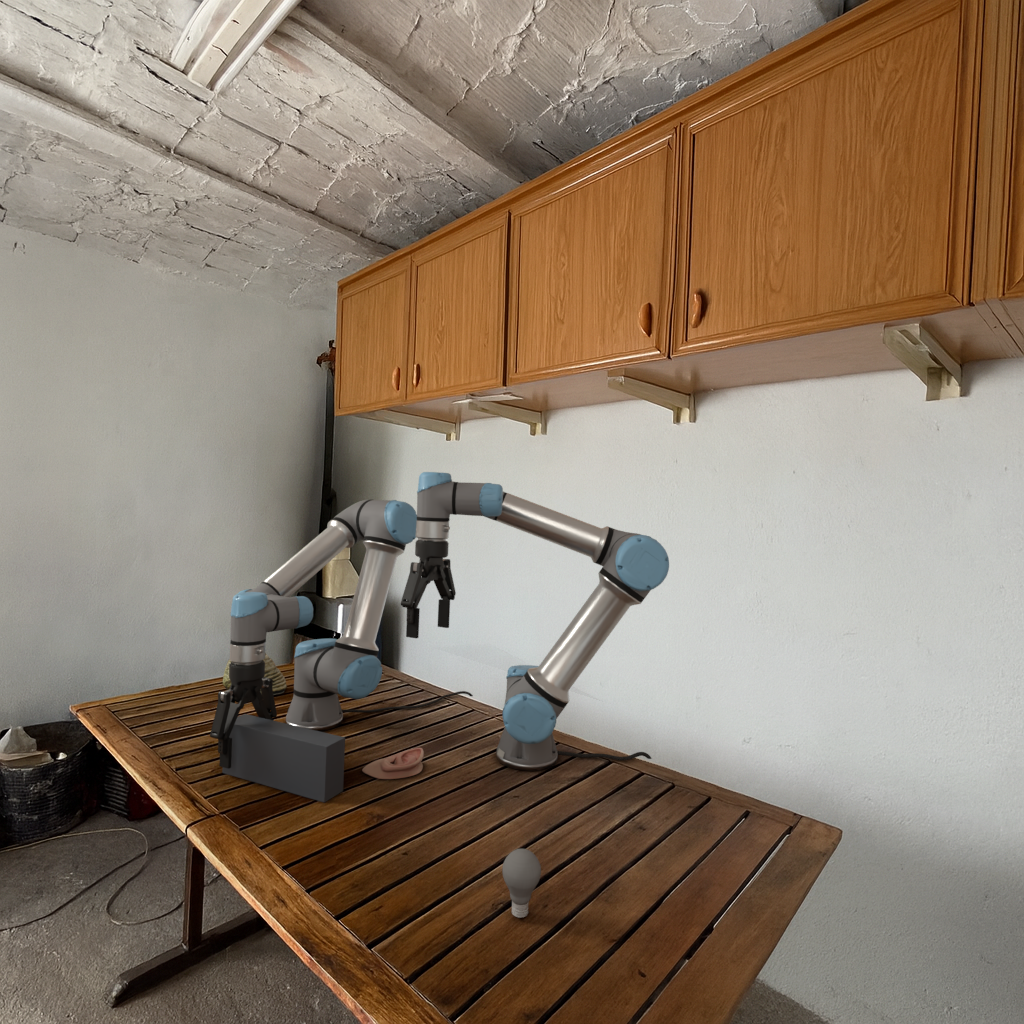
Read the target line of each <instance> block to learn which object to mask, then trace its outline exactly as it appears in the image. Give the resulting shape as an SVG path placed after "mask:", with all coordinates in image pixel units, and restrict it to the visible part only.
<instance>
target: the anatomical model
mask: <svg viewBox="0 0 1024 1024" xmlns="http://www.w3.org/2000/svg"><path fill="white" fill-rule="evenodd" d="M424 755H425V751H424V749H423V748H422V747H414V748H410V749H407V750H404V751H401V752H398V753H396V754H393V755H391V756H388V757H384V758H380V759H375V760H373V761H372V762H369V763H368V764H366V765H365V766H364V767H363V768H362V770H361V771H362V773H363V774H366V775H368V776H369V777H372V778H375V779H379V780H394V779H395V780H396V779H404V778H408V777H412V776H415V775H418V774H420V773H421V772H422V771H423V768H424V765H423V762H422V761H423V759H424Z"/></svg>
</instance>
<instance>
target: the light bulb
mask: <svg viewBox="0 0 1024 1024" xmlns="http://www.w3.org/2000/svg"><path fill="white" fill-rule="evenodd" d="M541 875H542V866H541V863H540V861H539V859H538V857H537V856H536V855H535V853H534V852H533V851H531V850H530V849H528V848H517V849H514V850H512V851H511V852H509V854H507V856H506V857H505V859H504V860H503V863H502V878H503V880H504V883H505V885H506V886H507V889H508V890H509V897H510V900H511V914H512V915H513V917H516V918H519V919H521V918H525V917H527V916H528V914H529V902H530V900H531V898H532V894H533V891H534V890H535V889H536V887H537V886H538V884H539V882H540V879H541Z"/></svg>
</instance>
